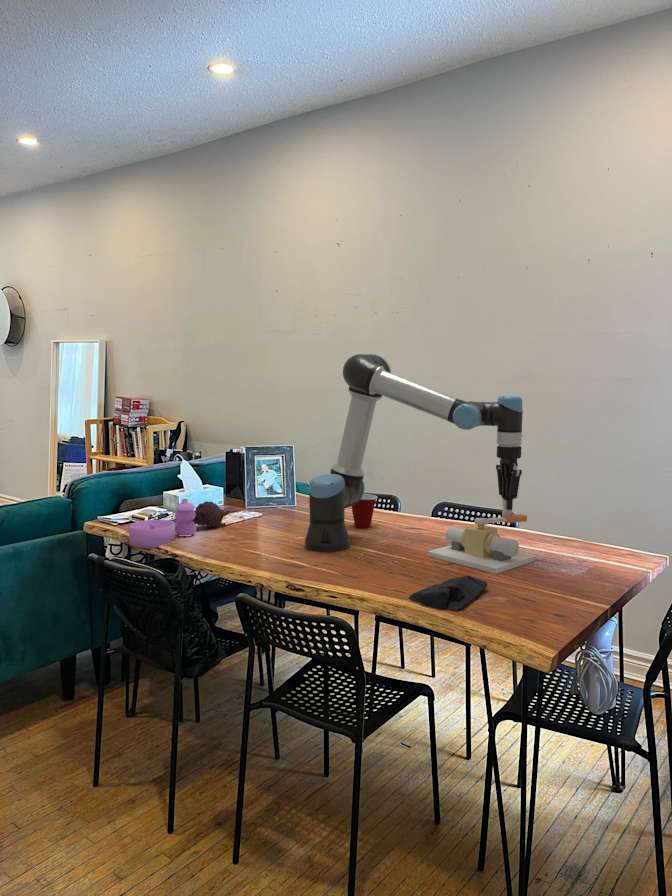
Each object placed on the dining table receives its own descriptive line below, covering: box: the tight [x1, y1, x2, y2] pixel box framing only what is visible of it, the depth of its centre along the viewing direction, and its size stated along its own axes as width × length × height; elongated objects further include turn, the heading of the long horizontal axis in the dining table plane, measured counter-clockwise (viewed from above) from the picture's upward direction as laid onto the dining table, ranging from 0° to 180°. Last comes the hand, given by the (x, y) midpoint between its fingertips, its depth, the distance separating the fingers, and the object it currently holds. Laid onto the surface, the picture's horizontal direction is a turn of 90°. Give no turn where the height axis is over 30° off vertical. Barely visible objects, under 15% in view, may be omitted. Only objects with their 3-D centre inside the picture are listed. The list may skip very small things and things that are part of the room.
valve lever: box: [474, 513, 528, 526], centre depth 217 cm, size 18×4×2 cm, turn 110°
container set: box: [128, 498, 197, 549], centre depth 242 cm, size 25×15×13 cm, turn 137°
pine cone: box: [192, 500, 230, 528], centre depth 260 cm, size 18×10×10 cm, turn 136°
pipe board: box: [427, 525, 536, 574], centre depth 216 cm, size 20×26×11 cm
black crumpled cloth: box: [408, 575, 488, 612], centre depth 181 cm, size 15×22×5 cm
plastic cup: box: [351, 493, 379, 529], centre depth 261 cm, size 11×11×12 cm
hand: (507, 519), depth 221 cm, fingers closed
